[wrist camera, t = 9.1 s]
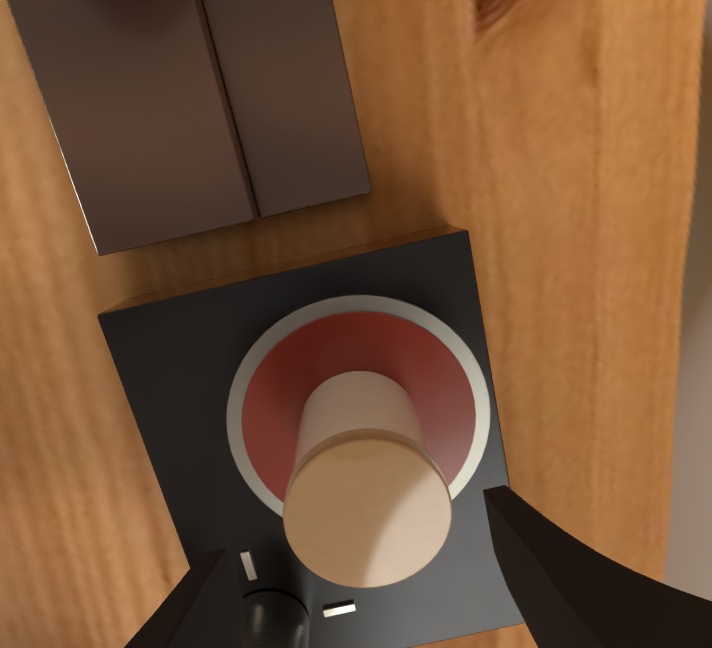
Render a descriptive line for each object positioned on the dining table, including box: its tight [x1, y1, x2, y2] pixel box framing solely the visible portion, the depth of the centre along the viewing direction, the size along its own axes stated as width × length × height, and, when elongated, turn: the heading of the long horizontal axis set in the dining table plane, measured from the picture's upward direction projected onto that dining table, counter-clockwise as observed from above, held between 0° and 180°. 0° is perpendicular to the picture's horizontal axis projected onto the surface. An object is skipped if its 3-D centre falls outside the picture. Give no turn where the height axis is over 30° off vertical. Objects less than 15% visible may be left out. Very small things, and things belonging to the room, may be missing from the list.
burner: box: [226, 294, 490, 517], centre depth 20 cm, size 10×10×1 cm
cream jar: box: [283, 371, 452, 588], centre depth 17 cm, size 5×5×6 cm
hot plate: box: [97, 225, 525, 648], centre depth 22 cm, size 19×15×3 cm
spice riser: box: [7, 0, 372, 256], centre depth 18 cm, size 14×10×2 cm
